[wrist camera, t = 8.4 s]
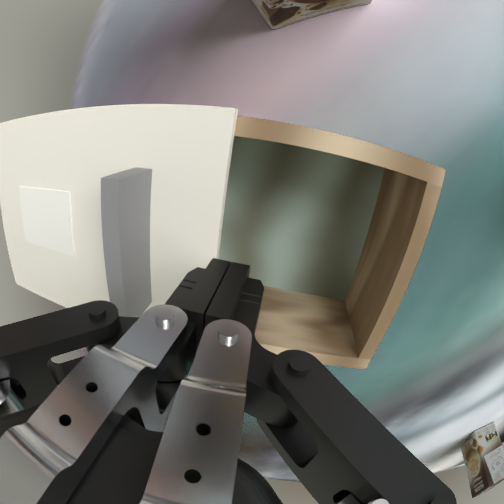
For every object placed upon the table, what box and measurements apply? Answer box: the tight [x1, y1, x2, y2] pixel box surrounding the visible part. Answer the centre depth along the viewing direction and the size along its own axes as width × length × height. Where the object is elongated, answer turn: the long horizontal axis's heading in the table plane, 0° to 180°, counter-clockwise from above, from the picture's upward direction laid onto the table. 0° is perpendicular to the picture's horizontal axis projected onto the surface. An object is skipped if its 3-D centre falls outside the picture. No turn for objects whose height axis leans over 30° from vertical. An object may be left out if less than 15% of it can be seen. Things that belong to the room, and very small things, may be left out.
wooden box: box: [219, 116, 446, 369], centre depth 18 cm, size 19×14×8 cm
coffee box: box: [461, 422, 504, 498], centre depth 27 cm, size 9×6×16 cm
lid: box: [0, 104, 238, 317], centre depth 14 cm, size 20×15×4 cm
